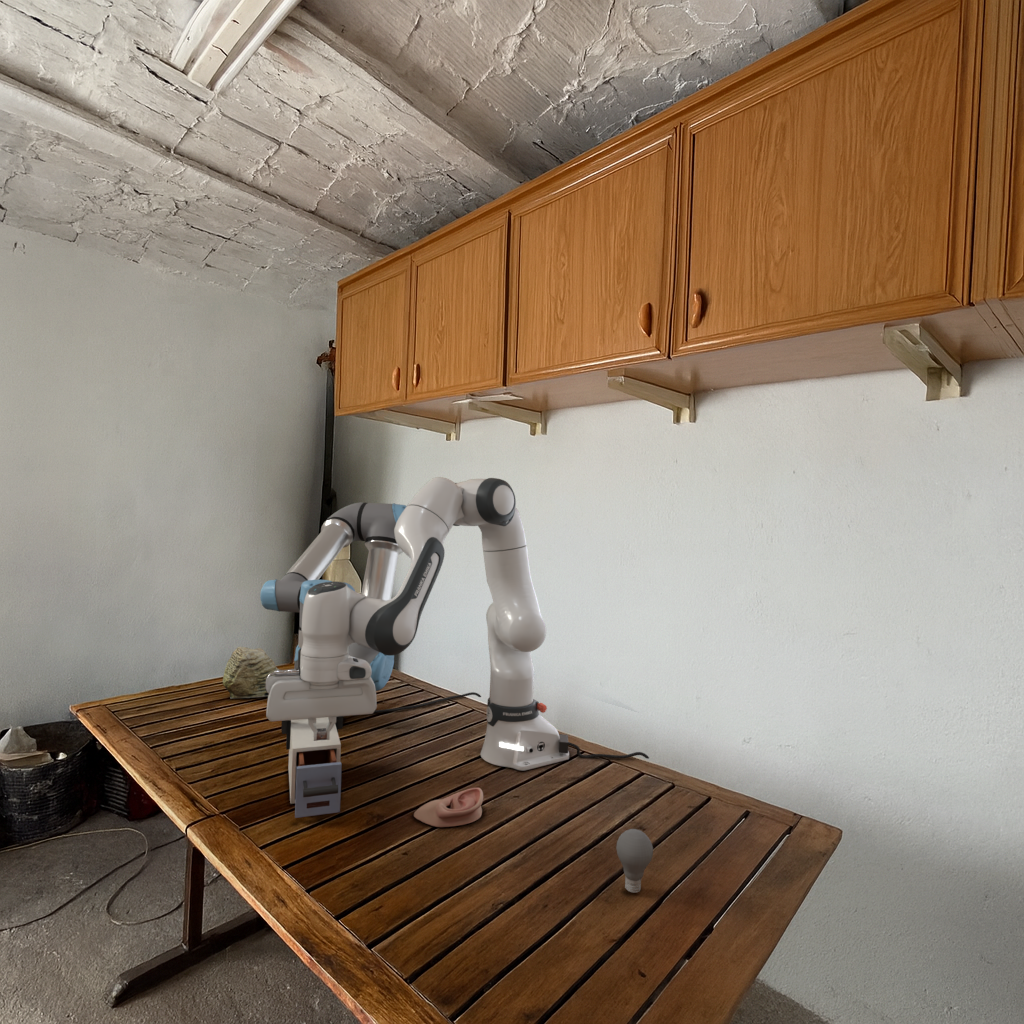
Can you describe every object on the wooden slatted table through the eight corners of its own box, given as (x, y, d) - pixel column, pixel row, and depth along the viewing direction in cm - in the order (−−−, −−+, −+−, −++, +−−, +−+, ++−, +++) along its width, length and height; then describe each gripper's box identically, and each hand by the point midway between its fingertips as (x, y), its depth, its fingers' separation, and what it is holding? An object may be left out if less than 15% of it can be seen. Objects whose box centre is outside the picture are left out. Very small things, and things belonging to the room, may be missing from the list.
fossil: (218, 695, 195) (220, 647, 195) (278, 685, 208) (279, 640, 207) (228, 703, 189) (230, 653, 188) (289, 692, 201) (290, 645, 201)
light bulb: (610, 879, 108) (613, 822, 108) (644, 879, 109) (647, 822, 109) (619, 902, 102) (622, 840, 102) (655, 901, 103) (658, 840, 103)
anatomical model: (408, 802, 124) (427, 778, 135) (407, 822, 124) (427, 796, 136) (473, 812, 122) (488, 786, 133) (473, 832, 122) (487, 805, 133)
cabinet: (338, 798, 133) (340, 744, 133) (290, 804, 130) (292, 748, 130) (331, 763, 151) (332, 715, 150) (288, 767, 147) (290, 718, 147)
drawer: (342, 825, 120) (344, 775, 120) (296, 832, 117) (297, 780, 117) (332, 775, 142) (333, 733, 142) (292, 780, 139) (293, 736, 139)
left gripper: (263, 654, 137) (259, 756, 138) (367, 649, 145) (363, 746, 146) (263, 646, 144) (260, 743, 145) (362, 642, 152) (359, 734, 153)
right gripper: (265, 675, 115) (262, 750, 115) (379, 669, 122) (376, 740, 122) (266, 666, 120) (263, 738, 121) (374, 660, 128) (371, 728, 128)
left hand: (311, 745), depth 145 cm, fingers closed on cabinet, 10 cm apart
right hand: (321, 739), depth 121 cm, fingers closed
